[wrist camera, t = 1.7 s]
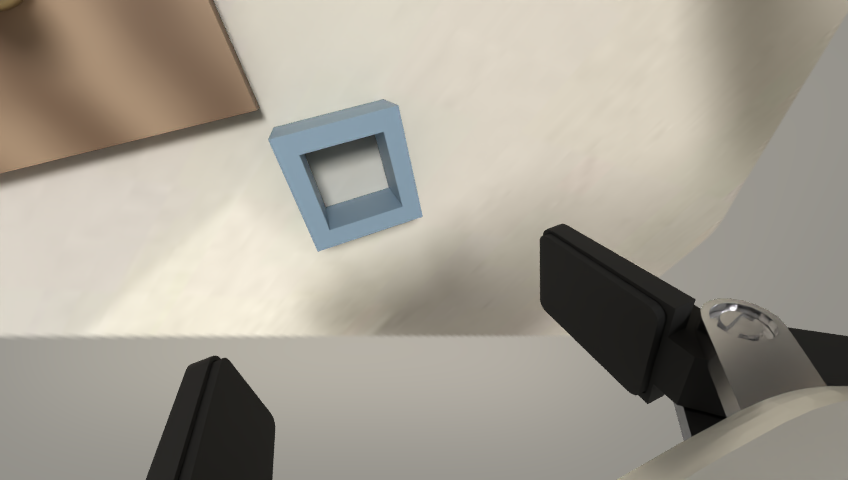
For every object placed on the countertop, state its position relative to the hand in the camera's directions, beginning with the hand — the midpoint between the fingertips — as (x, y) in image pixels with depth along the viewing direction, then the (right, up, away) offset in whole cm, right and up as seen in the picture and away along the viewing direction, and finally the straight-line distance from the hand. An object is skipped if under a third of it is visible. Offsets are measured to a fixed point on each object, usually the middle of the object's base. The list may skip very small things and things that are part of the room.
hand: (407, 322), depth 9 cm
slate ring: (-5, +8, +14) cm, 17 cm away
